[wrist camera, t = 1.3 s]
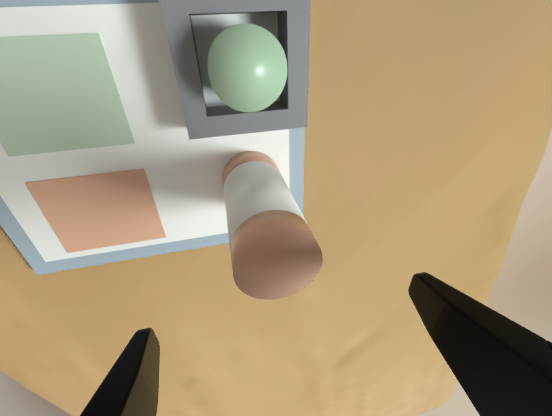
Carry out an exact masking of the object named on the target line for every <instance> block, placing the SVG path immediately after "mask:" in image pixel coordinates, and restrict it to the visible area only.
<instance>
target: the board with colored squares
mask: <svg viewBox="0 0 552 416" xmlns="http://www.w3.org/2000/svg"><path fill="white" fill-rule="evenodd" d="M235 24H254V25H258V26H261V27H263V28H265V29H266V30H268V31H269V32H271V33H272V34H273V35H274V36H275V37H276V39H277V40H278V41H279V43H280V44H281V46H282V48H283V50H284V53H285V56H286V60H287V79H286V83H285V86H284V88H283V91H282V92H281V94H280V96H279V97H278V98H277V99H276V101H275V102H274V103H272V104H271V105H270V106H268V107H267V108H265V109H263V110H260V111H257V112H241V111H237V110H235V109H232V108H231V107H229V106H227V105H226V104H225V103H224V102H222V101H221V100H220V98H219V97H218V96H217V95H216V93H215V92H214V90H213V88H212V86H211V83H210V80H209V75H208V66H207V57H208V51H209V48H210V45H211V43H212V41H213V39H214V38H215V37H216V35H217V34H218V33H219V32H220V31H222V30H223V29H225V28H226V27H229V26H231V25H235ZM309 37H310V0H0V225H1V227H2V228H3V229H4V231H5V232H6V234H7V235H8V236H9V238H10V239H11V240H12V242H13V243H14V244H15V246H16V247H17V249H18V250H19V251H20V253H21V254H22V255H23V257H24V258H25V259H26V261H27V262H28V264H29V265H30V266H31V268H32V269H33V270H34V272H35V273H36V274H37V275H40V274H46V273H52V272H58V271H63V270H69V269H75V268H81V267H87V266H93V265H99V264H105V263H111V262H117V261H123V260H129V259H135V258H141V257H147V256H153V255H159V254H165V253H171V252H177V251H183V250H189V249H195V248H201V247H207V246H213V245H219V244H225V243H229V235H228V226H227V218H226V209H225V201H224V192H223V184H222V174H223V170H224V168H225V166H226V164H227V163H228V162H229V160H230V159H232V158H233V157H234V156H236V155H237V154H240V153H242V152H246V151H258V152H261V153H264V154H266V155H268V156H269V157H270V158H272V159H273V161H274V162H275V163H276V165H277V167H278V169H279V171H280V173H281V175H282V177H283V179H284V180H285V182H286V184H287V186H288V188H289V190H290V192H291V194H292V196H293V198H294V200H295V201H296V203H297V205H298V207H299V209H300V211H301V213H302V215H303V185H304V138H305V127H307V114H308V76H309Z"/></svg>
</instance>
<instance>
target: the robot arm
mask: <svg viewBox="0 0 552 416" xmlns="http://www.w3.org/2000/svg"><path fill="white" fill-rule="evenodd" d="M409 295H410V297H411V299H412V301H413V303H414V305H415V307H416V309H417V311H418V313H419V315H420V317H421V319H422V321H423V323H424V325H425V327H426V329H427V331H428V333H429V335H430V336H431V338H432V340H433V341H434V343H435V345H436V346H437V348H438V349H439V351H440V353H441V354H442V356H443V357H444V359H445V361H446V362H447V364H448V365H449V367H450V368H451V370H452V372H453V373H454V375H455V376H456V378H457V380H458V381H459V383H460V384H461V386H462V388H463V389H464V391H465V392H466V394H467V395H468V397H469V399H470V400H471V402H472V404H473V405H474V407H475V408H476V410H477V411H478V413H479V415H480V416H552V343H551V342H549V341H546V340H545V339H544V338H542V337H540V336H539V335H537V334H535V333H533V332H531V331H530V330H528V329H526V328H524V327H522V326H521V325H519V324H517V323H515V322H514V321H512V320H510V319H508V318H507V317H505V316H503V315H501V314H499V313H498V312H496V311H494V310H492V309H491V308H489V307H487V306H485V305H483V304H482V303H480V302H478V301H476V300H474V299H473V298H471V297H469V296H467V295H466V294H464V293H462V292H460V291H458V290H457V289H455V288H453V287H451V286H450V285H448V284H446V283H444V282H442V281H441V280H439V279H437V278H435V277H434V276H432V275H430V274H428V273H425V272H422V273H417V274H414V275H413V277H412V280H411V283H410V286H409ZM159 357H160V346H159V342H158V339H157V337H156V335H155V333H154V331H153V329H152V328H146V329H141V330H138V331H137V332H136V333H135V334H134V336H133V337H132V339H131V340H130V342H129V343H128V345H127V346H126V348H125V349H124V351H123V352H122V353H121V355H120V356H119V358H118V359H117V361H116V362H115V364H114V365H113V367H112V368H111V370H110V371H109V373H108V374H107V376H106V377H105V379H104V380H103V382H102V383H101V385H100V386H99V388H98V389H97V391H96V392H95V394H94V395H93V397H92V398H91V400H90V401H89V403H88V404H87V406H86V407H85V409H84V410H83V412H82V413H81V415H80V416H156V413H157V405H158V388H159Z"/></svg>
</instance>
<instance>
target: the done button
mask: <svg viewBox="0 0 552 416" xmlns="http://www.w3.org/2000/svg"><path fill="white" fill-rule="evenodd" d="M207 66H208V75H209V80H210V83H211V86H212V88H213V90H214V92H215V93H216V95H217V96H218V97H219V98H220V100H221V101H222V102H224V103H225V104H226V105H227V106H229V107H231V108H232V109H235V110H237V111H241V112H257V111H260V110H263V109H265V108H267V107H268V106H270V105H271V104H272V103H274V102H275V101H276V99H277V98H278V97H279V96H280V94H281V92H282V91H283V88H284V86H285V83H286V79H287V60H286V56H285V53H284V50H283V48H282V46H281V44H280V43H279V41H278V40H277V39H276V37H275V36H274V35H273V34H272V33H271V32H269V31H268V30H266V29H265V28H263V27H261V26H258V25H254V24H235V25H231V26H229V27H226V28H225V29H223V30H222V31H220V32H219V33H218V34H217V35H216V37H215V38H214V39H213V41H212V43H211V45H210V48H209V51H208V57H207Z"/></svg>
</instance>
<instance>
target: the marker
mask: <svg viewBox="0 0 552 416" xmlns="http://www.w3.org/2000/svg"><path fill="white" fill-rule="evenodd" d="M222 184H223V192H224V201H225V209H226V218H227V226H228V235H229V243H230V252H231V260H232V269H233V277H234V281H235V283H236V285H237V286H238V288H239V289H240V290H241V291H242V292H244V293H245V294H247V295H249V296H251V297H254V298H258V299H279V298H283V297H287V296H290V295H292V294H295V293H297V292H299V291H300V290H302V289H303V288H305V287H306V286H307V285H309V284H310V283H311V282H312V281H313V280H314V278H315V277H316V276H317V274H318V273H319V271H320V268H321V265H322V252H321V250H320V247H319V245H318V243H317V242H316V240H315V238H314V236H313V234H312V232H311V230H310V228H309V226H308V224H307V222H306V221H305V219H304V217H303V215H302V213H301V211H300V209H299V207H298V205H297V203H296V201H295V200H294V198H293V196H292V194H291V192H290V190H289V188H288V186H287V184H286V182H285V180H284V179H283V177H282V175H281V173H280V171H279V169H278V167H277V165H276V163H275V162H274V161H273V159H272V158H270V157H269V156H268V155H266V154H264V153H261V152H258V151H246V152H242V153H240V154H237V155H236V156H234V157H233V158H232V159H230V160H229V162H228V163H227V164H226V166H225V168H224V170H223V174H222Z"/></svg>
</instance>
